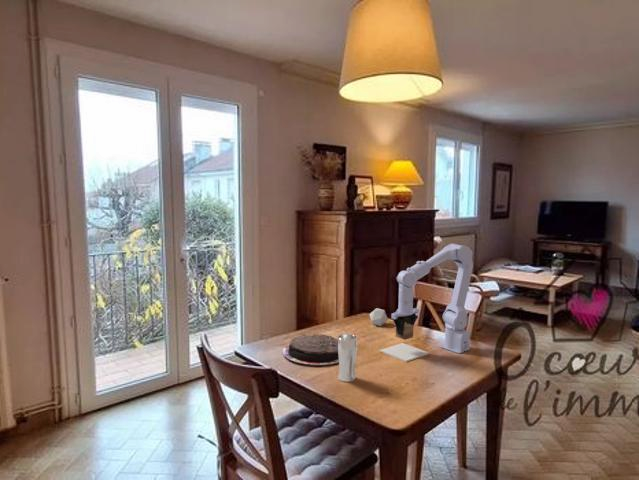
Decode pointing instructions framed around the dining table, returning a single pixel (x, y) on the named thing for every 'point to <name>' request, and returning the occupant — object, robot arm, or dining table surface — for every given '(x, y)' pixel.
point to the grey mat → (404, 352)
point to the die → (378, 317)
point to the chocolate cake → (312, 350)
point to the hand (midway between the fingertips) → (404, 333)
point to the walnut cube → (406, 332)
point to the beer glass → (347, 356)
